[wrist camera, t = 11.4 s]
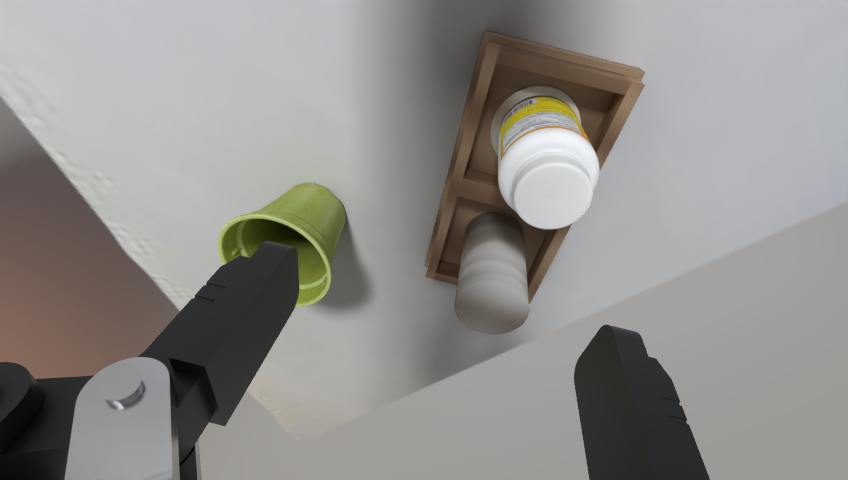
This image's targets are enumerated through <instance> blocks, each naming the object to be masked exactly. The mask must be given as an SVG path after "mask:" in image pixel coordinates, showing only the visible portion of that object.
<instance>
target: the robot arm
mask: <svg viewBox="0 0 848 480" xmlns="http://www.w3.org/2000/svg"><path fill="white" fill-rule="evenodd" d="M298 296H299V269H298V252H297V249H296V248H295V247H291V246H287V245H283V244H278V243H274V242H270V241H265V242H263V243H262V244H261V245H260V247H259V248H258V249H257V250H256V251H255V253H254V254H253V255H252V256H251V257H250V258H249V257H245V256H241V255H240V256H238V257H237V258H235V259H233V260H231V261H230V262H228V263H226V264H225V265H223V266H221V267H220V268H219V269H218V270H217V271H216V272H215V274H214V275H213V276H212V277H211V278H210V279H209V280H208V281H207V284H206V286H203V287H202V288H201V289H200V290H199V291H198V293H197V294H196V295H195V298H194V299H191V300H190V301H189V303H188V304H187V305H186V306H185V307H184V308H183V309H182V310H181V311H180V313H179V314H178V315H177V316H176V317H175V318H174V319H173V320H172V322H171V323H170V324H169V325H168V326H167V327H166V328H165V329H164V330H163V332H162V333H161V334H160V335H159V336H158V337H157V338H156V339H155V340H154V341H153V343H152V344H151V345H150V346H149V347H148V348H147V349H146V350H145V351H144V352H143V353H142V354H141V355H139V356H138V357H136V358H130V359H125V360H122V361H119V362H117V363H114V364H112V365H110V366H108V367H106V368H105V369H103V370H102V371H100V372H99V373H97V374H96V375H93V376H83V377H65V378H48V379H35V378H34V377H33V376H32V375H31V374H30V372H29V371H28V370H27V369H26V368H25V367H23V366H21V365H19V364H16V363H9V362H0V480H202V478H201V465H200V453H199V441H198V438H199V437H200V435H201V434H202V432H203V430H204V429H205V427H206V426H207V424H208V423H209V422H211V423H215V424H219V425H222V426H225V425H226V424H227V422H228V420H229V418H230V417H231V415H232V414H233V412H234V410H235V408H236V407H237V405H238V403H239V402H240V400H241V398H242V397H243V395H244V393H245V391H246V390H247V388H248V386H249V385H250V383H251V381H252V380H253V378H254V376H255V375H256V373H257V371H258V369H259V368H260V366H261V364H262V363H263V361H264V359H265V358H266V356H267V354H268V352H269V351H270V349H271V347H272V346H273V344H274V342H275V341H276V339H277V337H278V336H279V334H280V332H281V330H282V329H283V327H284V325H285V324H286V322H287V320H288V319H289V317H290V315H291V313H292V312H293V310H294V308H295V305H296V303H297V300H298ZM574 383H575V389H576V396H577V402H578V409H579V415H580V422H581V428H582V434H583V440H584V447H585V453H586V459H587V466H588V473H589V479H590V480H710V479H709V476H708V473H707V471H706V468H705V465H704V463H703V460H702V458H701V455H700V452H699V450H698V447H697V445H696V442H695V439H694V437H693V434H692V432H691V429H690V426H689V425H688V424H687V423H686V421H687V419H686V416H685V413H684V411H683V408H682V406H680V405H679V402H680V400H679V398H678V395H677V393H676V390H675V387H674V384H673V382H672V380H671V378H670V377H669V375H668V374H667V373H666V372H665V370H664V369H663V368H662V366H661V365H660V364H659V362H658V361H657V359H655V358H651V357H648V354H647V351H646V348H645V346H644V343H643V340H642V337H641V336H640V335H639V333H637V332H634V331H630V330H626V329H622V328H618V327H614V326H610V325H604V326H602V327H601V328H600V329H599V331H598V332H597V334H596V335H595V336H594V338H593V339H592V341H591V342H590V343H589V345H588V346H587V348H586V349H585V350H584V352H583V353H582V354H581V356H580V357H579V359H578V361H577V364H576V367H575V373H574Z"/></svg>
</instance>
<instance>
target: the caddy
mask: <svg viewBox="0 0 848 480" xmlns="http://www.w3.org/2000/svg"><path fill="white" fill-rule="evenodd" d="M644 74H645V72H644V71H642V70H641V69H640V68H636V67H632V66H628V65H624V64H620V63H616V62H612V61H607V60H603V59H599V58H595V57H591V56H587V55H583V54H579V53H575V52H571V51H567V50H563V49H559V48H555V47H551V46H547V45H543V44H539V43H535V42H531V41H526V40H522V39H518V38H514V37H510V36H506V35H502V34H498V33H494V32H490V31H486V30H485V31H484V35H483V39H482V43H481V47H480V51H479V55H478V58H477V62H476V66H475V70H474V74H473V78H472V82H471V86H470V90H469V94H468V97H467V101H466V105H465V109H464V113H463V117H462V121H461V125H460V129H459V132H458V136H457V140H456V144H455V148H454V152H453V156H452V160H451V164H450V168H449V171H448V175H447V179H446V183H445V187H444V191H443V195H442V199H441V203H440V207H439V210H438V214H437V218H436V222H435V226H434V230H433V234H432V238H431V242H430V245H429V249H428V253H427V257H426V261H425V266H428V270H427V274H426V277H428V278H432V279H436V280H440V281H444V282H447V283H451V284H455V285H457V291H456V298H455V311H456V314H457V316H458V318H459V319H460V320H461V321H462V322H463V323H464V324H465V325H467V326H468V327H470V328H472V329H474V330H476V331H479V332H483V333H489V334H500V333H506V332H509V331H512V330H514V329H516V328H518V327H519V326H521V325H522V324H523V323H524V322H525V320H526V319H527V317H528V314H529V304H530V303H531V301H532V299H533V297H534V295H535V293H536V291H537V289H538V287H539V285H540V284H541V282H542V280H543V278H544V276H545V274H546V272H547V270H548V268H549V266H550V265H551V263H552V261H553V259H554V257H555V255H556V253H557V251H558V249H559V247H560V245H561V244H562V242H563V240H564V238H565V236H566V234H567V232H568V230H569V228H570V226H571V225H572V224H571V225H568V226H566V227H563V228H559V229H541V228H536V227H534V226H531V225H530V224H528V223H526V222H525V221H524V220H523V219H522V218H521V217H520V216H519V215H518V213H517V212H516V211H514V210H513V209H512V208H511V207H510V206H509V205H508V204H507V203H506V201H505V200H504V198H503V196H502V194H501V192H500V188H499V184H498V132H499V127H500V124H501V121H502V119H503V117H504V115H505V114H506V113H507V111H508V110H509V109H510V108H511V107H512V106H513V105H514V104H516V103H517V102H519V101H520V100H522V99H524V98H527V97H530V96H534V95H550V96H554V97H557V98H559V99H561V100H563V101H564V102H565V103H566V104H568V105H569V106H570V107H571V109H572V110H573V112H574V113H575V115H576V117H577V119H578V121H579V123H580V124H581V126H582V128H583V130H584V132H585V134H586V135H587V137H588V139H589V141H590V143H591V145H592V147H593V149H594V150H595V153H596V155H597V158H598V162H599V169H601V168H602V166H603V164H604V162H605V160H606V158H607V156H608V154H609V152H610V150H611V149H612V147H613V145H614V143H615V141H616V139H617V137H618V135H619V133H620V131H621V130H622V128H623V126H624V124H625V122H626V120H627V118H628V116H629V114H630V112H631V111H632V109H633V107H634V105H635V103H636V101H637V99H638V97H639V95H640V93H641V92H642V90H643V88H644V86H645V85H644V84H643V83H642V82H641V80H642V78H643V76H644Z"/></svg>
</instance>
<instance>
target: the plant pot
mask: <svg viewBox="0 0 848 480" xmlns="http://www.w3.org/2000/svg"><path fill="white" fill-rule="evenodd" d="M345 221H346V214H345V210H344V207H343V205H342V203H341V201H340V200H339V199H337V198H336V197H335V196H334V195H333V194H332V193H331V192H330V191H329V190H328V189H327V188H325V187H323V186H320V185H317V184H312V183H304V184H300V185H297V186H295V187H293V188H292V189H290V190H289V191H287V192H286V193H284V194H283V195H282V196H280V197H279V198H277V199H276V200H274V201H273V202H271V203H270V204H268V205H267V206H265V207H264V208H262V209H261V210H259V211H256V212H253V213H250V214H245V215H241V216H238V217H236V218H234V219H232V220H231V221H229V222H228V223H227V224H226V225H225V226H224V227H223V228H222V230H221V232H220V234H219V237H218V253H219V256H220V259H221V261H222V264H223V265H225V264H226V263H228V262H230V261H231V260H233V259H235V258H237V257H238V256H240V255H241V256H245V257H249V258H250V257H251V256H252V255H253V254H254V253H255V251H256V250H257V249H258V248H259V247H260V245H261V244H262V243H263V242H265V241H270V242H274V243H278V244H283V245H287V246H291V247H295V248H296V249H297V252H298V269H299V296H298V300H297V303H296V305H295V307H302V306H307V305H311V304H314V303H316V302H317V301H319V300H320V299H322V298H323V297H324V296H325V294H326V293H327V291H328V290H329V287H330V285H331V281H332V270H331V266H332V258H333V255H334V253H335V250H336V247H337V244H338V241H339V239H340V236H341V233H342V230H343V228H344V225H345Z"/></svg>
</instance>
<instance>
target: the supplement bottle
mask: <svg viewBox="0 0 848 480" xmlns="http://www.w3.org/2000/svg"><path fill="white" fill-rule="evenodd" d="M599 171H600V169H599V162H598V158H597V155H596V153H595V150H594V149H593V147H592V145H591V143H590V141H589V139H588V137H587V135H586V134H585V132H584V130H583V128H582V126H581V124H580V123H579V121H578V119H577V117H576V115H575V113H574V112H573V110H572V109H571V107H570V106H569V105H568V104H566V103H565V102H564V101H563V100H561V99H559V98H557V97H554V96H550V95H534V96H530V97H527V98H524V99H522V100H520V101H519V102H517V103H516V104H514V105H513V106H512V107H511V108H510V109H509V110H508V111H507V113H506V114H505V115H504V117H503V119H502V121H501V124H500V127H499V132H498V184H499V188H500V192H501V194H502V196H503V198H504V200H505V201H506V203H507V204H508V205H509V206H510V207H511V208H512V209H513V210H514V211H516V212H517V213H518V215H519V216H520V217H521V218H522V219H523V220H524V221H525V222H526V223H528V224H530V225H531V226H534V227H536V228H541V229H559V228H563V227H566V226H568V225H571V224H572V223H574V222H576V221H577V220H578V219H580V218H581V217H582V216H583V215H584V214H585V212H586V211H587V210H588V208H589V206H590V204H591V201H592V196H593V192H594V190H595V188H596V186H597V183H598V179H599Z"/></svg>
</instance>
